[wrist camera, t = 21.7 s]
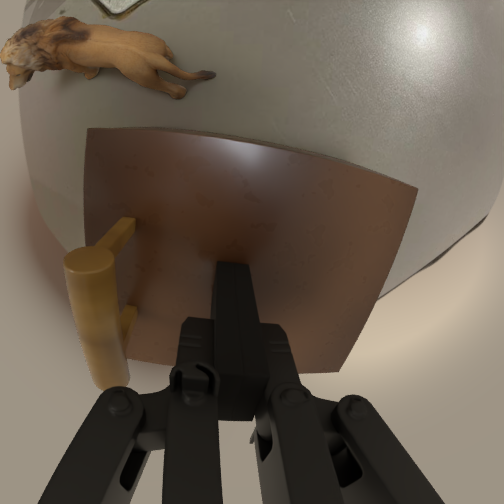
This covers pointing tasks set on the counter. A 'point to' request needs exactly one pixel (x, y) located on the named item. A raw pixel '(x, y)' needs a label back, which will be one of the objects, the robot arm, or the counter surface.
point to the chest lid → (225, 244)
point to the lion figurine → (92, 54)
